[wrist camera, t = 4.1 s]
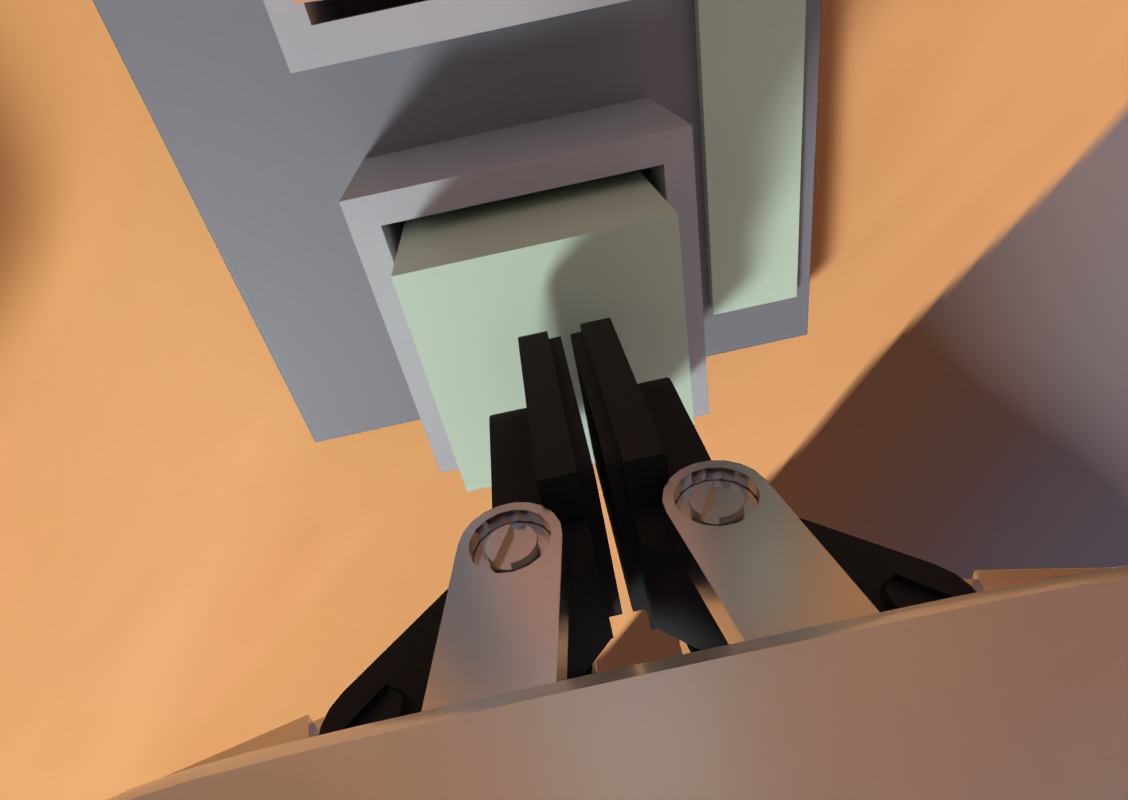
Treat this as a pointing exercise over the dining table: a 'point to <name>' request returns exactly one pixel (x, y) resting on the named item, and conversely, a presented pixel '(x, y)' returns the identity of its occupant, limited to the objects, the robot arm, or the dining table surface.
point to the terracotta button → (304, 1)
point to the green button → (539, 297)
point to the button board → (475, 157)
